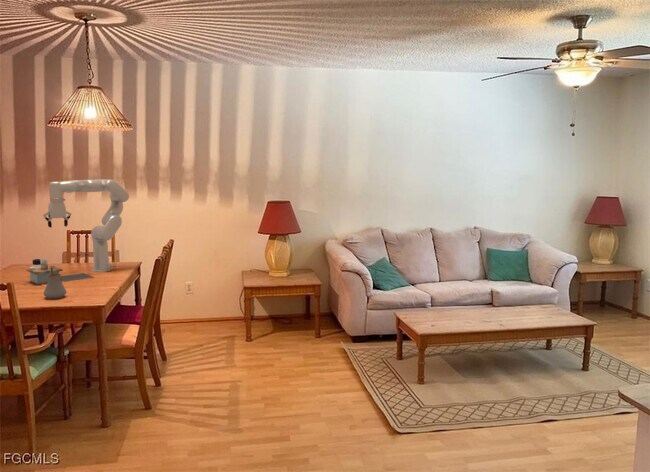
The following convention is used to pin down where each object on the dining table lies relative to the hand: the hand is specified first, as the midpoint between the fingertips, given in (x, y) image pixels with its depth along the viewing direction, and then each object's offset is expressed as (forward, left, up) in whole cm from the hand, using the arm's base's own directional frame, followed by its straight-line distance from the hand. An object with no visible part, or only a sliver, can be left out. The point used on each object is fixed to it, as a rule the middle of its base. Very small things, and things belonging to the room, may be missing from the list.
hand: (58, 226), depth 348 cm
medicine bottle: (+11, -8, -34) cm, 36 cm away
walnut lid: (+13, +10, -26) cm, 31 cm away
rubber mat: (-5, +10, -33) cm, 35 cm away
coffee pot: (+22, +52, -34) cm, 66 cm away
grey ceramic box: (+13, +10, -33) cm, 37 cm away
